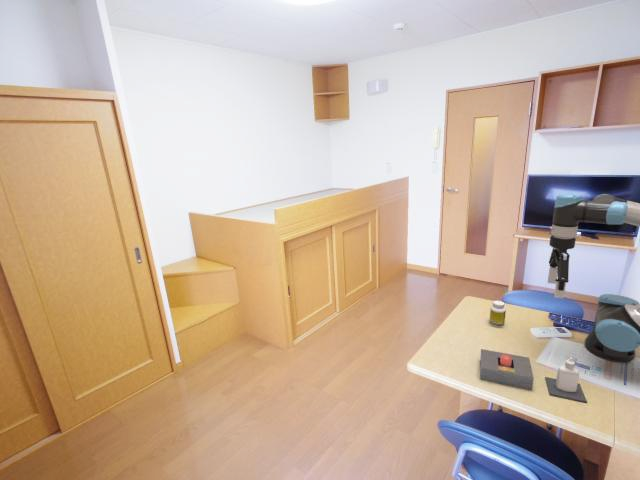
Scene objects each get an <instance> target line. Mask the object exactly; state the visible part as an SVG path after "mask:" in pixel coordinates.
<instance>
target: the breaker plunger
mask: <svg viewBox="0 0 640 480" xmlns="http://www.w3.org/2000/svg"><path fill="white" fill-rule="evenodd" d="M507 354H508V353H506V354H502V355H501V357H500V366H505V367H510V368H511V363H512V357H511V356H509V355H507Z"/></svg>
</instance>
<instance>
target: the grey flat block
mask: <svg viewBox="0 0 640 480" xmlns="http://www.w3.org/2000/svg"><path fill="white" fill-rule="evenodd" d="M502 354H507V355H509V356H511V357H512V363H511V368H510V367H505V366H500V357H501V355H502ZM479 362H480V364H479V365H480V366H479V367H480V369H479V372H480V375H479V377H480V380H482V381H486V382H491V383H495V384H500V385H505V386H509V387H515V388H519V389H524V390H527V391H533V386H534V385H533V384H534V378H535V377H534V373H533V369H532V364H531V359H530V357H527V356H523V355H522V356H521V355H516V354H511V353H506V352H500V351H494V350H489V349H484V348H481V349H480V360H479Z"/></svg>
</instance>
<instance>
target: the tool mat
mask: <svg viewBox="0 0 640 480" xmlns="http://www.w3.org/2000/svg"><path fill="white" fill-rule="evenodd" d="M556 379H557V378H555V377H554V378H553V377H548V376H545V377H544V380H545V382H546V383H545V384H546V387H547V390H548V394H549V396H551V397H557V398H560V399H564V400H570V401H575V402H580V403H585V404H587V403H588V401H587V398H586V395H585V393H584V391H583V388H582V387H581V384H580V383H579V382H578V385H577V390H576V392H566V391H562V390H560V389H558V388H557V387H556Z"/></svg>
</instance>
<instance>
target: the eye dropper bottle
mask: <svg viewBox="0 0 640 480" xmlns="http://www.w3.org/2000/svg"><path fill="white" fill-rule="evenodd" d="M575 364H576V363H575V361H573V358H572V357H569V358H568V359H566V360H565V363H564V365H560V366H558V368H557V373H556V378H555V379H556V387H557V388H558V389H560V390H562V391H566V392H576V390H577V385H578V383H579V378H580V372H579V369H577V368H575Z"/></svg>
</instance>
